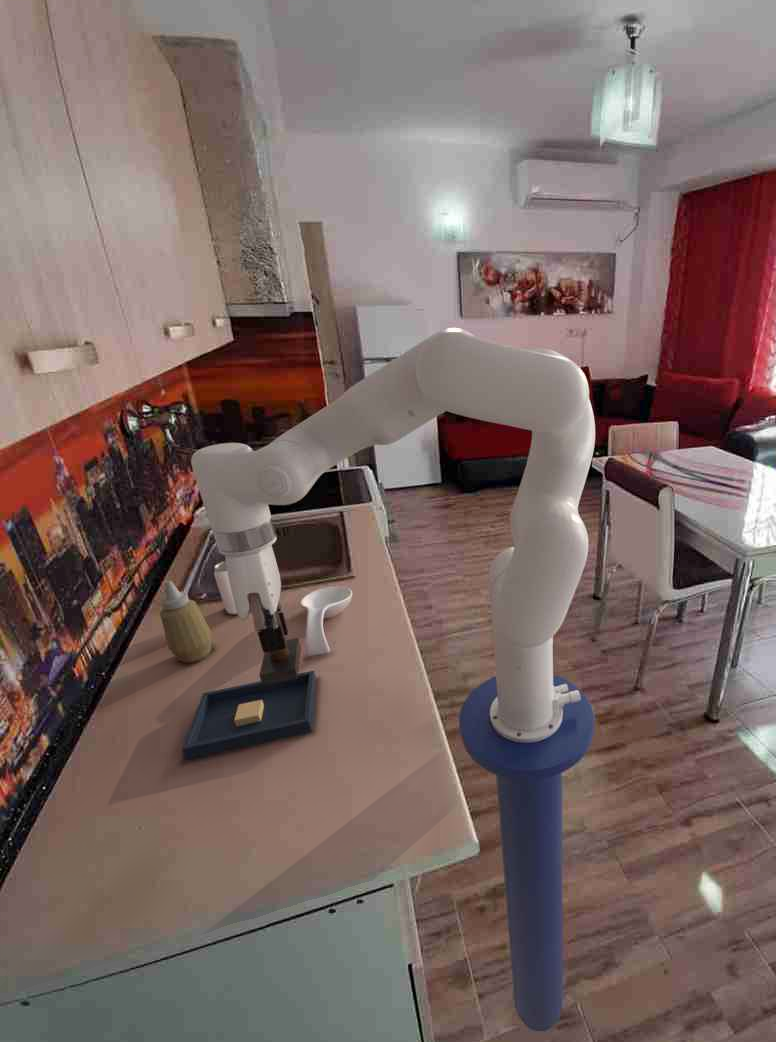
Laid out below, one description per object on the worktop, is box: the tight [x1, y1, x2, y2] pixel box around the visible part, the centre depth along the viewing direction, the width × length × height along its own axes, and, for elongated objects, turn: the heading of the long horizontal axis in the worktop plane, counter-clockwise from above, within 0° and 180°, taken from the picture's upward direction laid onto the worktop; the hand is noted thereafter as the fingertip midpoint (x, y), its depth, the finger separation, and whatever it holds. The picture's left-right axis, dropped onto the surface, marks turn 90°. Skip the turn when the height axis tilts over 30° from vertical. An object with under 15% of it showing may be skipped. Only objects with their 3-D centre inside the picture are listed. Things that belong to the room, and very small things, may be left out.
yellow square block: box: [234, 700, 264, 727], centre depth 90 cm, size 4×4×2 cm
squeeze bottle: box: [159, 579, 213, 663], centre depth 105 cm, size 8×8×18 cm
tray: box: [181, 670, 317, 761], centre depth 90 cm, size 20×14×2 cm
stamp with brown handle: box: [259, 610, 302, 686], centre depth 78 cm, size 8×5×10 cm, turn 16°
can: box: [213, 560, 251, 616], centre depth 122 cm, size 6×6×12 cm
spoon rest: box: [299, 585, 353, 657], centre depth 115 cm, size 24×12×7 cm, turn 11°
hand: (276, 641), depth 78 cm, fingers closed on stamp with brown handle, 2 cm apart
